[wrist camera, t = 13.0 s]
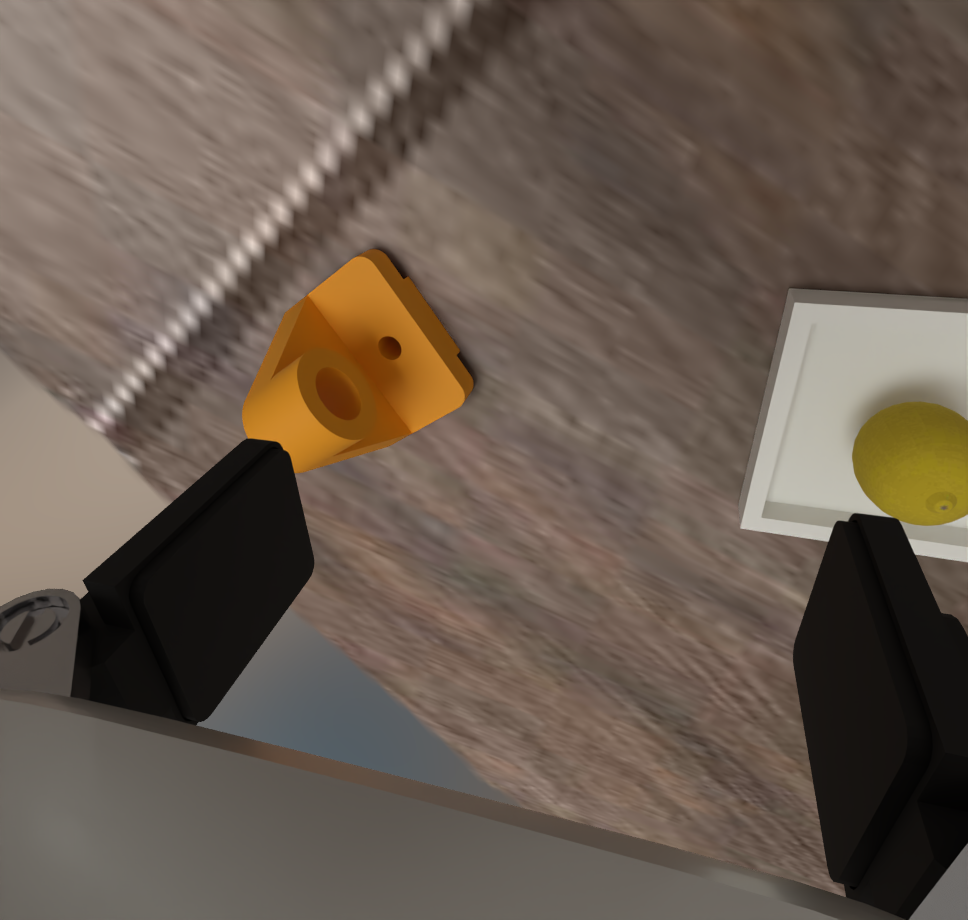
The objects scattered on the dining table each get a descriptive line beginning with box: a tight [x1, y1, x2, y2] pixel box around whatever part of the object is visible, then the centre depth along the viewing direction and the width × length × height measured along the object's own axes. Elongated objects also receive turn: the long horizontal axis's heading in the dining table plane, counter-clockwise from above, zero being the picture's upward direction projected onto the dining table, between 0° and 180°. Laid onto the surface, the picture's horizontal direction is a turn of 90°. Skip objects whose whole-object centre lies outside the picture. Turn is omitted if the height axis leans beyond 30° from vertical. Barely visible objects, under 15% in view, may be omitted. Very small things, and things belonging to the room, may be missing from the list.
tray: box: [738, 288, 968, 562], centre depth 34 cm, size 14×14×2 cm
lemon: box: [852, 401, 968, 526], centre depth 31 cm, size 6×6×8 cm
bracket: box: [242, 249, 473, 473], centre depth 37 cm, size 11×7×12 cm, turn 35°
